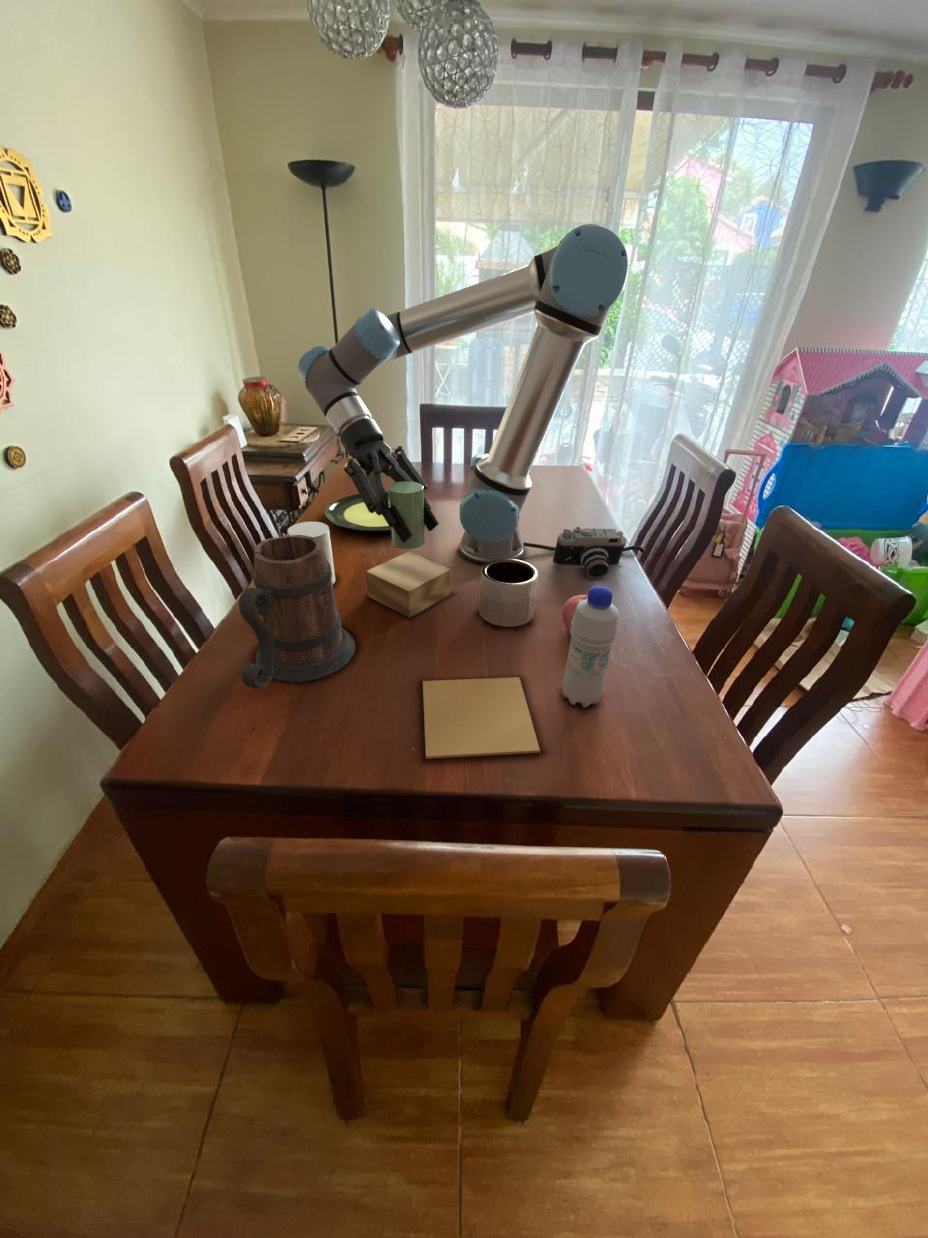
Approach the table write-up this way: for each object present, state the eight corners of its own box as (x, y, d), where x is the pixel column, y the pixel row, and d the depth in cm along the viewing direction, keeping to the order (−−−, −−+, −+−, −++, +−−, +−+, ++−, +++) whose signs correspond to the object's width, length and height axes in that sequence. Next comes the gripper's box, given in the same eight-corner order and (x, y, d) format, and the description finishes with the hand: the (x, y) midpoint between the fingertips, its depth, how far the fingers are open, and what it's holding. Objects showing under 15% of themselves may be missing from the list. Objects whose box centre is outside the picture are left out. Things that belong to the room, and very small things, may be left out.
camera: (556, 583, 117) (565, 550, 109) (551, 557, 123) (558, 524, 115) (625, 583, 118) (638, 550, 110) (616, 557, 123) (628, 524, 116)
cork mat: (519, 679, 86) (519, 677, 86) (539, 752, 73) (540, 750, 73) (422, 683, 85) (422, 680, 85) (425, 759, 72) (425, 756, 71)
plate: (441, 505, 151) (441, 496, 150) (412, 544, 128) (412, 535, 127) (351, 495, 156) (351, 486, 155) (308, 531, 133) (306, 522, 132)
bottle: (554, 684, 86) (571, 577, 75) (594, 682, 86) (617, 576, 75) (564, 712, 80) (584, 602, 69) (607, 711, 81) (633, 601, 70)
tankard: (290, 616, 100) (272, 519, 89) (371, 633, 96) (362, 533, 85) (207, 694, 81) (171, 583, 70) (303, 718, 78) (280, 604, 66)
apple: (568, 617, 103) (573, 581, 98) (604, 628, 100) (611, 592, 95) (554, 635, 97) (559, 599, 93) (591, 648, 94) (599, 610, 90)
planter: (538, 605, 106) (543, 563, 101) (526, 634, 97) (531, 590, 92) (487, 595, 109) (490, 554, 104) (471, 622, 100) (473, 578, 95)
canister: (424, 534, 104) (422, 481, 98) (425, 548, 99) (423, 492, 93) (391, 535, 104) (388, 481, 98) (391, 549, 98) (387, 493, 92)
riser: (409, 575, 115) (408, 551, 112) (450, 594, 109) (450, 569, 105) (368, 596, 107) (365, 570, 104) (409, 618, 101) (408, 591, 98)
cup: (325, 592, 108) (318, 539, 101) (289, 588, 109) (279, 535, 103) (341, 574, 115) (335, 523, 108) (306, 570, 116) (298, 519, 109)
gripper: (385, 431, 106) (444, 527, 107) (306, 450, 94) (374, 559, 94) (402, 407, 101) (465, 509, 101) (320, 424, 88) (392, 540, 89)
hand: (421, 533), depth 98 cm, fingers closed on canister, 6 cm apart
